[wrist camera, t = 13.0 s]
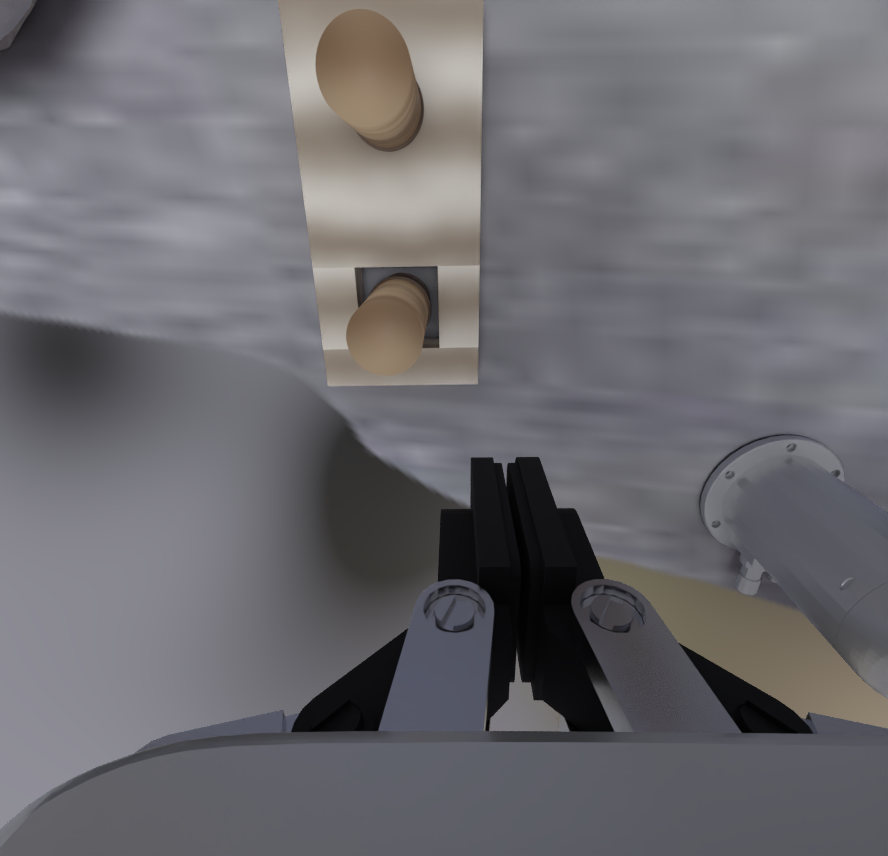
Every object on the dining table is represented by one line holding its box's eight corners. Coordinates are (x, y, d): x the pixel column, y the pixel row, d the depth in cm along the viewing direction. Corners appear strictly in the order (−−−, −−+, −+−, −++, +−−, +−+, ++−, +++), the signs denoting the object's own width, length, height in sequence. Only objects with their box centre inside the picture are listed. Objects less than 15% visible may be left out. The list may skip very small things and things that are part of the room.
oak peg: (432, 330, 39) (427, 377, 28) (376, 331, 39) (348, 378, 28) (431, 270, 37) (424, 296, 26) (371, 271, 37) (339, 297, 26)
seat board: (475, 372, 40) (486, 433, 29) (336, 374, 40) (294, 435, 29) (480, 13, 30) (498, -100, 19) (293, 17, 30) (205, -92, 19)
